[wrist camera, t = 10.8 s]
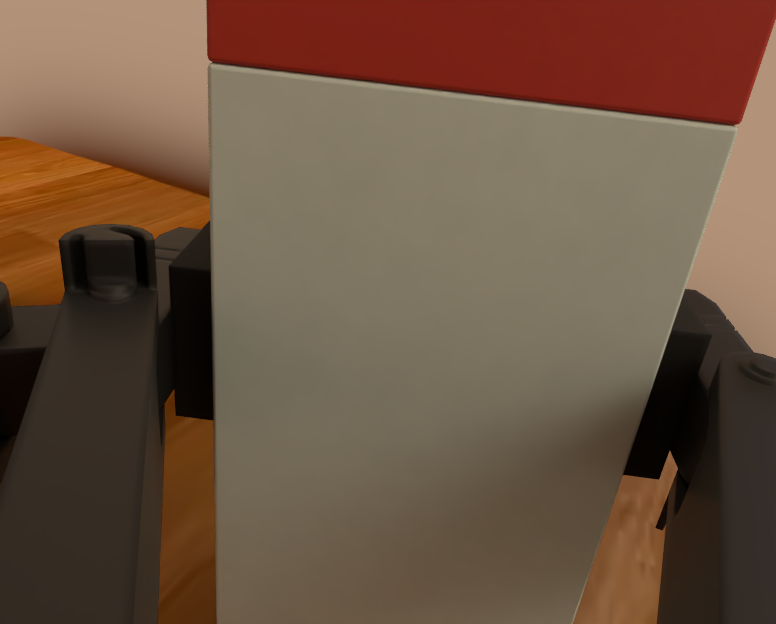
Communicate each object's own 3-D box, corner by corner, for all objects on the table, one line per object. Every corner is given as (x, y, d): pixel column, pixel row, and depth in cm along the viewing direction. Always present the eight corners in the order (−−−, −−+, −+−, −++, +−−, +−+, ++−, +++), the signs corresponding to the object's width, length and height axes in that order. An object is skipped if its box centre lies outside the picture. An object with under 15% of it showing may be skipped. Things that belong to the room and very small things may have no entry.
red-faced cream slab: (507, 673, 17) (861, 1046, 5) (249, 638, 17) (-67, 911, 5) (538, 205, 21) (774, -262, 9) (328, 179, 21) (265, -318, 9)
